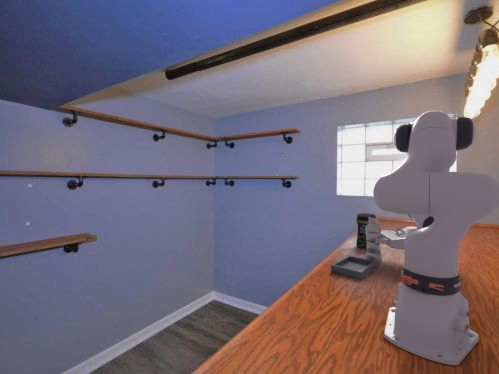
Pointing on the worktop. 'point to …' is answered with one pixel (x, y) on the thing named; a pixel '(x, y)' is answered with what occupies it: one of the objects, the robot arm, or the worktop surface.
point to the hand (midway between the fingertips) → (371, 238)
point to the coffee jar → (362, 229)
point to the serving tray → (354, 267)
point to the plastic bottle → (371, 233)
